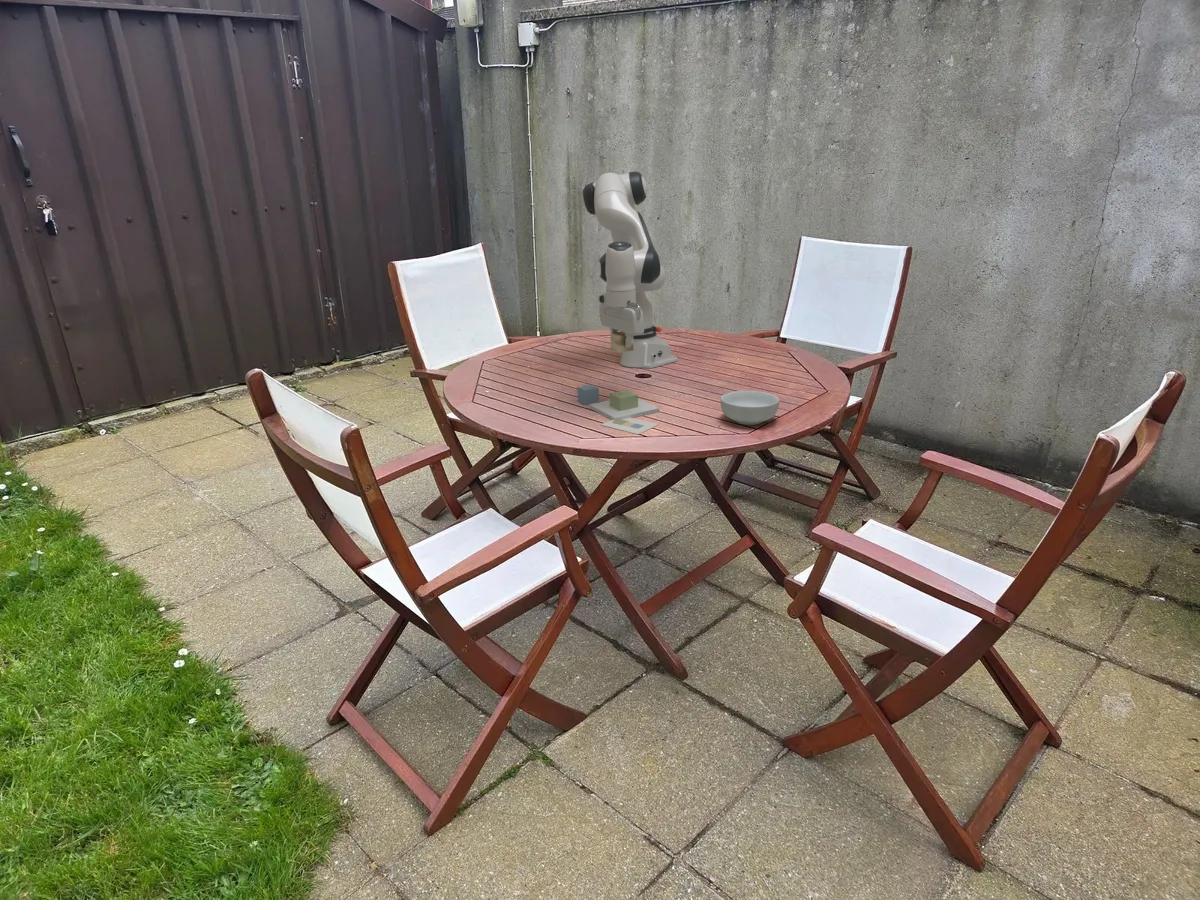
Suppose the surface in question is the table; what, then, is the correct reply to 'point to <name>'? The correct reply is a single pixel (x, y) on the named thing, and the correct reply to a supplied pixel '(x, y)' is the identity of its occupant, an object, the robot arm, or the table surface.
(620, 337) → the beech block
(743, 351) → the table surface
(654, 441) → the table surface
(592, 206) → the robot arm
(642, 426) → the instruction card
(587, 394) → the slate blue block
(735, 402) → the cereal bowl
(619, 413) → the build plate
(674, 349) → the table surface
